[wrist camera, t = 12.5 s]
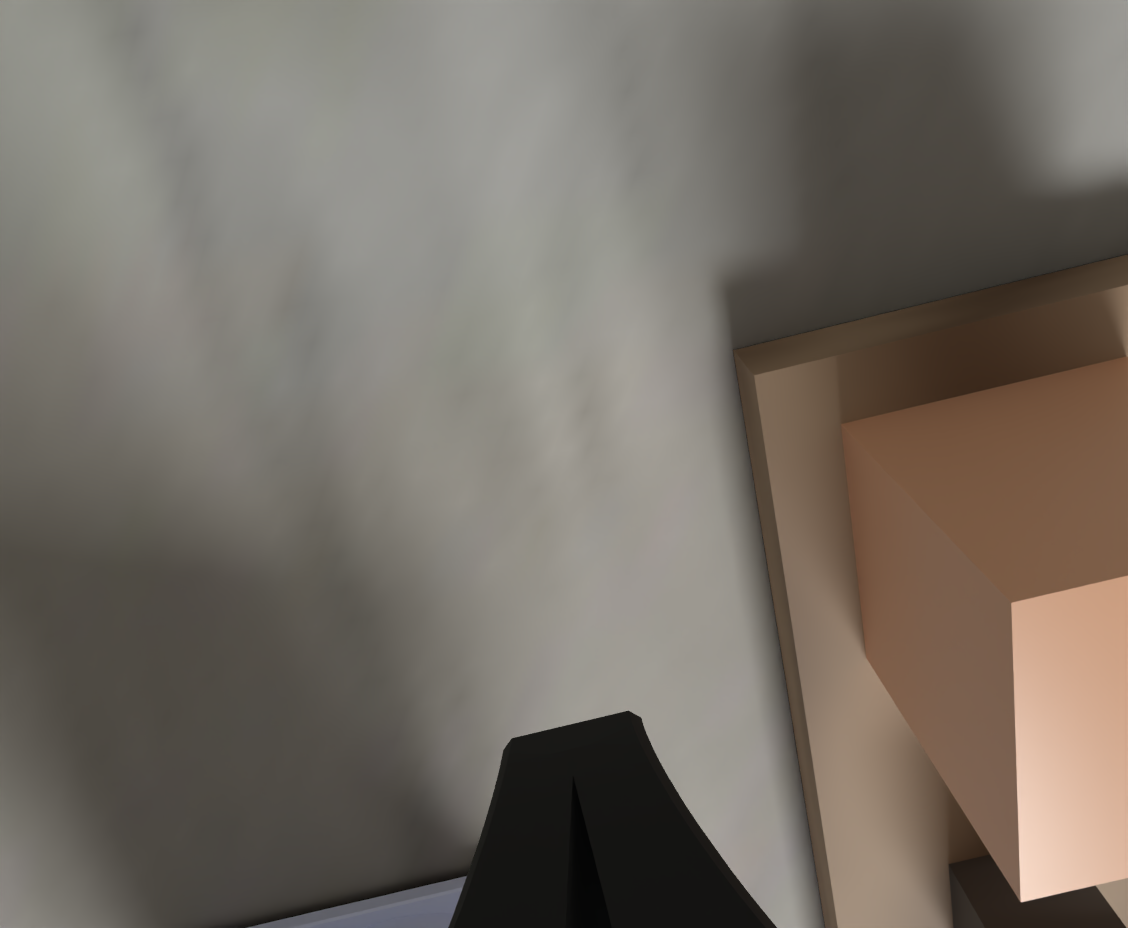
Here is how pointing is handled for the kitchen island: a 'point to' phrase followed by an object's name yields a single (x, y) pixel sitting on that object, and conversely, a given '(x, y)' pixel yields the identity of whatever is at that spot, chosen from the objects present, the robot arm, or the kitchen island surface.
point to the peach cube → (1008, 609)
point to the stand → (832, 603)
